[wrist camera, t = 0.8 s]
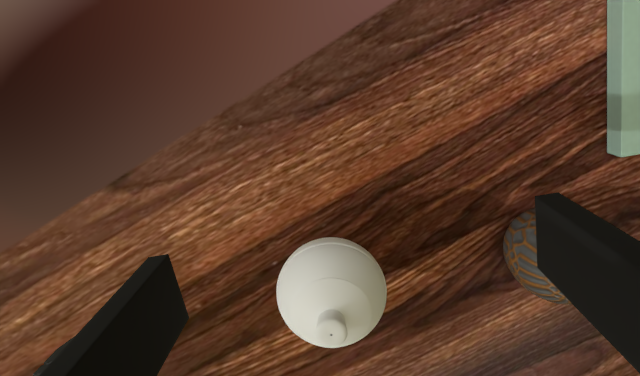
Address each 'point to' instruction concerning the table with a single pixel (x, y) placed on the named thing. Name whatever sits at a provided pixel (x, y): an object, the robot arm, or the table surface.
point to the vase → (528, 258)
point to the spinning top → (331, 292)
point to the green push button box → (623, 77)
